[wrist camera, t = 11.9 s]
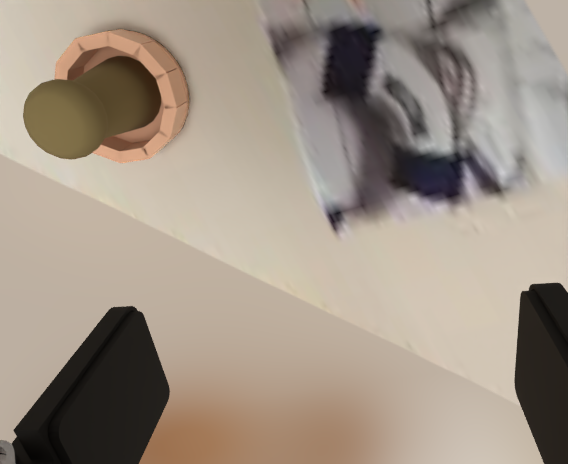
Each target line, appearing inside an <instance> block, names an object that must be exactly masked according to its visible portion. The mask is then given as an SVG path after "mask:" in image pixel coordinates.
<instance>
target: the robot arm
mask: <svg viewBox="0 0 568 464" xmlns="http://www.w3.org/2000/svg"><path fill="white" fill-rule="evenodd" d="M515 390H516V394H517V397H518V400H519V402H520V405H521V407H522V410H523V412H524V415H525V417H526V420H527V422H528V424H529V427H530V429H531V432H532V434H533V437H534V439H535V442H536V444H537V447H538V449H539V452H540V454H541V457H542V459H543V462H544V464H568V293H567V291H566V290H565V288H564V287H563V286H562V285H561V284H560V283H545V284H532V285H530V288H529V291H522V293H521V297H520V310H519V324H518V339H517V353H516V367H515ZM169 392H170V391H169V385H168V382H167V379H166V377H165V374H164V371H163V368H162V365H161V362H160V360H159V357H158V354H157V351H156V349H155V346H154V343H153V341H152V337H151V334H150V332H149V329H148V326H147V323H146V320H145V318H144V315H143V313H142V312H140V311H137V309H136V308H135V307H133V306H127V307H113V308H111V309H110V310H109V311H108V312H107V313H106V314H105V316H104V317H103V318H102V319H101V321H100V322H99V323H98V324H97V326H96V327H95V328H94V330H93V331H92V332H91V333H90V334H89V336H88V337H87V338H86V340H85V341H84V342H83V343H82V345H81V346H80V347H79V348H78V350H77V351H76V352H75V353H74V355H73V356H72V357H71V358H70V360H69V361H68V362H67V364H66V365H65V366H64V367H63V369H62V370H61V371H60V372H59V374H58V375H57V376H56V377H55V379H54V380H53V381H52V383H51V384H50V385H49V386H48V387H47V389H46V390H45V391H44V392H43V394H42V395H41V396H40V398H39V399H38V400H37V401H36V403H35V404H34V405H33V406H32V408H31V409H30V410H29V411H28V413H27V414H26V415H25V416H24V418H23V419H22V420H21V421H20V423H19V424H18V425H17V427H16V428H15V429H14V432H15V434H16V435H17V437H16V439H15V440H14V441H13V443H12V444H11V443H9V442H7V441H4V440H0V464H139V462H140V459H141V457H142V455H143V453H144V451H145V449H146V446H147V445H148V442H149V440H150V438H151V436H152V434H153V432H154V429H155V427H156V425H157V423H158V421H159V419H160V417H161V415H162V412H163V410H164V408H165V406H166V404H167V402H168V399H169Z"/></svg>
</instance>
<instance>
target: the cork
mask: <svg viewBox="0 0 568 464" xmlns="http://www.w3.org/2000/svg"><path fill="white" fill-rule="evenodd" d="M160 106H161V93H160V90H159V87H158V84H157V80H156V78H155V77H154V76H153V75H152V74H151V73H150V72H149V70H148V69H147V68H146V67H145V66H144V65H143V64H142V63H141V62H140V61H138V60H136V59H133V58H131V57H127V56H115V57H111V58H108V59H106V60H105V61H103V62H101V63H100V64H98V65H97V66H95V67H93V68H92V69H90V70H89V71H87V72H85V73H84V74H82V75H81V76H79V77H77V78H76V79H74V80H64V79H55V80H51V81H48V82H44V83H41V84H40V85H39V86H37V87H36V88H35V89H34V90H33V91H31V92H30V93H29V95H28V97H27V99H26V101H25V105H24V113H23V118H24V123H25V127H26V129H27V131H28V133H29V135H30V137H31V138H32V140H33V141H34V142H35V143H36V144H37V146H39V147H40V148H41V149H43V150H44V151H45V152H47V153H49V154H52V155H54V156H56V157H59V158H63V159H77V158H81V157H86V156H88V155H89V154H91V153H92V152H94V151H95V150H96V149H98V148H99V147H100V145H101V143H102V142H103V140H104V139H105V138H108V137H111V136H115V135H118V134H122V133H125V132H129V131H132V130H136V129H139V128H143V127H145V126H147V125H148V124H150V123H151V122H153V121H154V119H155V118H156V116H157V115H158V113H159V110H160Z"/></svg>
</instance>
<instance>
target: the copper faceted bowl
mask: <svg viewBox="0 0 568 464" xmlns="http://www.w3.org/2000/svg"><path fill="white" fill-rule="evenodd" d="M115 56H127V57H131V58H133V59H136V60H138V61H140V62H141V63H142V64H143V65H144V66H145V67H146V68H147V69H148V70H149V72H150V73H151V74H152V75H153V76H154V77H155V78H156V80H157V84H158V87H159V90H160V93H161V106H160V110H159V113H158V115H157V116H156V118H155V119H154V121H153V122H151V123H150V124H148V125H147V126H145V127H143V128H139V129H136V130H132V131H129V132H125V133H122V134H118V135H115V136H111V137H108V138H105V139H104V140H103V142H102V143H101V145H100V147H99V148H98V149H96V150H95V151H94V152H92V153H94V154H97V155H100V156H102V157H105V158H108V159H111V160H113V161H116V162H119V163H126V162H132V161H138V160H145V159H149V158H151V157H152V156H154V155H155V154H156V153H157V152H159V151H160V150H161V149H162V148H163V147H164V146H165V145H166V144H167V143H168V142H169V141H171V140H172V139H173V138H174V137H175V136H176V135H177V134H178V133H179V132H180V131H181V128H182V127H183V125H184V123H185V121H186V117H187V114H188V108H189V92H188V87H187V82H186V80H185V77H184V74H183V72H182V70H181V68H180V66H179V64H178V63H177V61H176V60H175V58H174V57H173V56H172V55H171V53H170V52H169V51H168V50H167V49H166V48H165V47H164V46H162V45H161V44H160V43H159V42H157V41H156V40H154V39H152V38H151V37H149V36H146V35H144V34H141V33H138V32H134V31H128V30H123V29H118V30H111V31H105V32H101V33H97V34H92V35H88V36H83V37H79V38H76V39H75V40H74V41H73V42H72V43H71V44H70V46H69V47H68V48H67V49H66V51H65V52H64V53H63V54H62V56H61V57H60V58H59V59H58V61H57V63H56V69H55V79H64V80H74V79H76V78H77V77H79V76H81V75H82V74H84V73H85V72H87V71H89V70H90V69H92V68H93V67H95V66H97V65H98V64H100V63H101V62H103V61H105V60H106V59H108V58H111V57H115Z"/></svg>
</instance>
